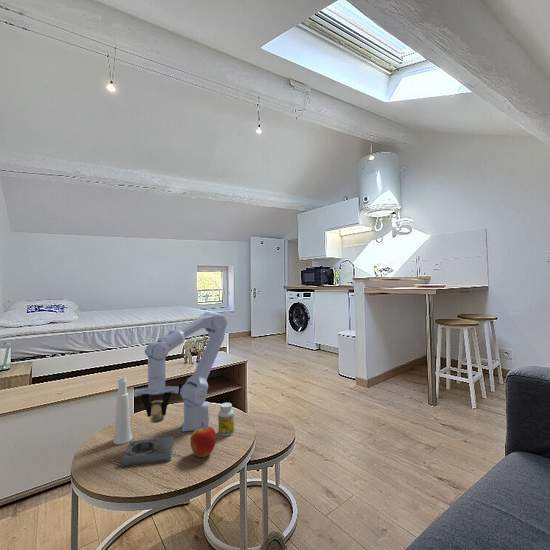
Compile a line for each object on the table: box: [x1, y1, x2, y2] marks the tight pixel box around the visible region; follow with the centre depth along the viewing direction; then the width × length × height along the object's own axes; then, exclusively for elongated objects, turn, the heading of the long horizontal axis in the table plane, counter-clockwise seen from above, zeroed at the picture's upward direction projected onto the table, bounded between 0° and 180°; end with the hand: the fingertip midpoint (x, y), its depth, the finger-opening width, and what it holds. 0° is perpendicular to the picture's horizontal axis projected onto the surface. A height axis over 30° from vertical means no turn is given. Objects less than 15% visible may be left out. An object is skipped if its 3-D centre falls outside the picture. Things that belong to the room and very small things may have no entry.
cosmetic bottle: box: [112, 376, 133, 445], centre depth 111 cm, size 6×6×22 cm
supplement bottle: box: [217, 402, 235, 437], centre depth 115 cm, size 6×6×10 cm
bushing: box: [149, 399, 165, 424], centre depth 110 cm, size 4×4×6 cm
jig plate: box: [121, 436, 175, 468], centre depth 101 cm, size 14×10×2 cm
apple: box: [189, 423, 217, 458], centre depth 101 cm, size 8×8×10 cm
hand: (156, 414), depth 110 cm, fingers closed on bushing, 4 cm apart
